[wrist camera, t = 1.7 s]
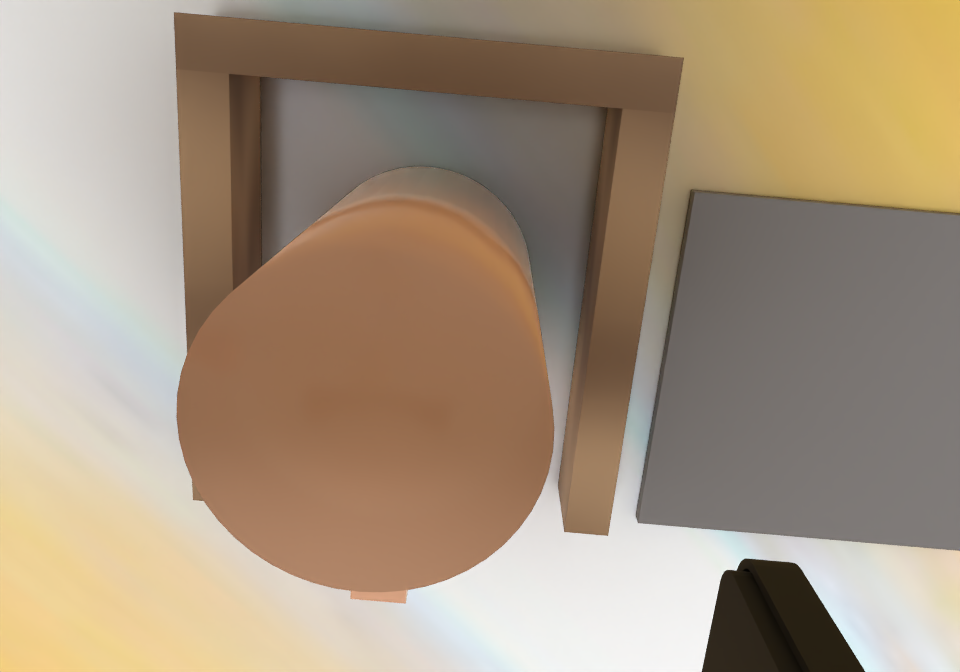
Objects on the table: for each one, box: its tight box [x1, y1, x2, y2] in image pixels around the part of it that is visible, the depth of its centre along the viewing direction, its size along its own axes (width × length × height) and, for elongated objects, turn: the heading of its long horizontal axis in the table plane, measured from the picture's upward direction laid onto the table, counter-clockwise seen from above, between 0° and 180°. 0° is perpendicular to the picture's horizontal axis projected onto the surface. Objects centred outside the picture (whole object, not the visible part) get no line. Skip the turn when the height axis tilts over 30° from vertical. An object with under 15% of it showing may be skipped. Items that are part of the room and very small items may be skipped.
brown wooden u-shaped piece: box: [174, 12, 684, 536], centre depth 21 cm, size 12×11×2 cm
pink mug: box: [177, 166, 554, 603], centre depth 18 cm, size 8×6×10 cm
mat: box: [636, 190, 960, 551], centre depth 22 cm, size 10×10×1 cm
